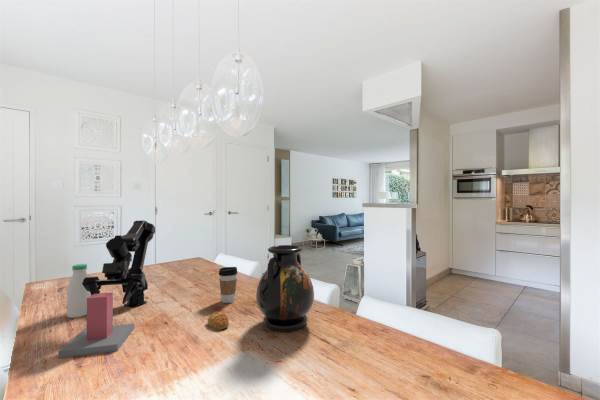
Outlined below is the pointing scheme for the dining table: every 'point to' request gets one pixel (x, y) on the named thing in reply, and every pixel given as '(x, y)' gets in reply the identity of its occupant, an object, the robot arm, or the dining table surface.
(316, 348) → the dining table surface
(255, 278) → the dining table surface
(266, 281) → the amphora vase
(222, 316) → the pastry
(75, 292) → the milk bottle
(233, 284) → the coffee cup
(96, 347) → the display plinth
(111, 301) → the red rectangular block
